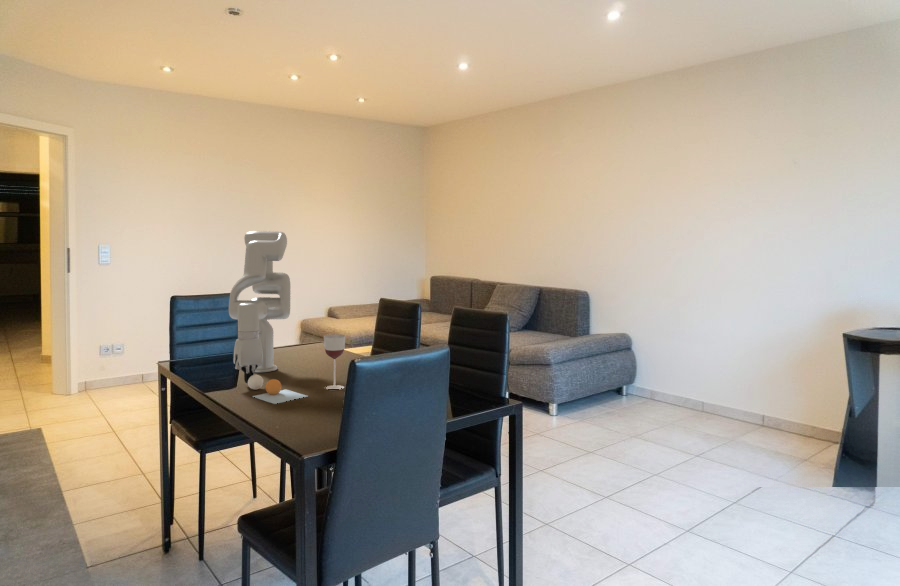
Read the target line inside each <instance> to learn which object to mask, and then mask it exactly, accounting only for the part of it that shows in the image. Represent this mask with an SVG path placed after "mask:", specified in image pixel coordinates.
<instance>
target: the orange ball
mask: <svg viewBox="0 0 900 586" xmlns="http://www.w3.org/2000/svg"><path fill="white" fill-rule="evenodd" d="M280 390H282V383H281V381H279V380H278V379H276V378H272V379H269V380H268V381H267V382H266V384H265V391H266V393H269V394H271V395H275V394H278V393H279V392H280Z"/></svg>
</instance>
